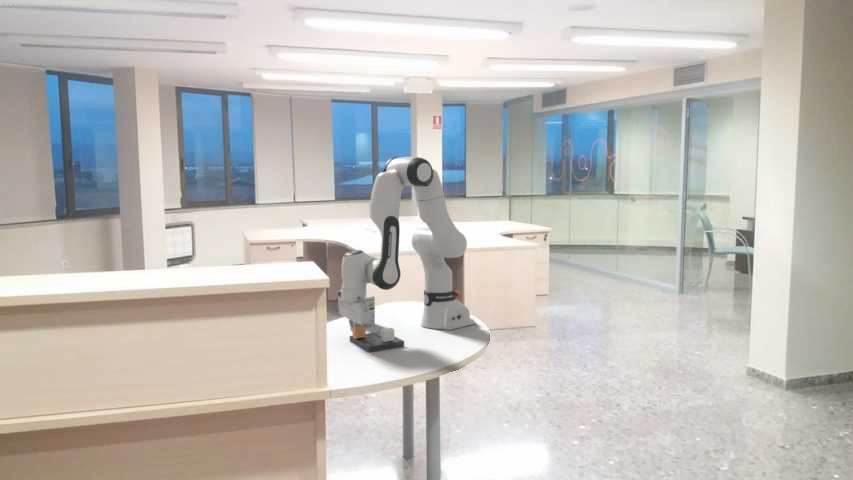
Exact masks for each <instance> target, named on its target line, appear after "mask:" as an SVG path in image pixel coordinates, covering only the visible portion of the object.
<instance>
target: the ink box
mask: <svg viewBox="0 0 853 480" xmlns="http://www.w3.org/2000/svg"><path fill="white" fill-rule="evenodd" d="M375 298H376V297H375V296H373V295H371V294H369V293H366V300H365V302H366V303H367V304H368V306H369V313H370V322H369V324H367V325H364V326H366V327H367V326H373V325H375V324H376V320H375V319H376V317H375V316H376V308H375V307H376V305H375V304H376V303H375V302H376V299H375Z"/></svg>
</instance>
